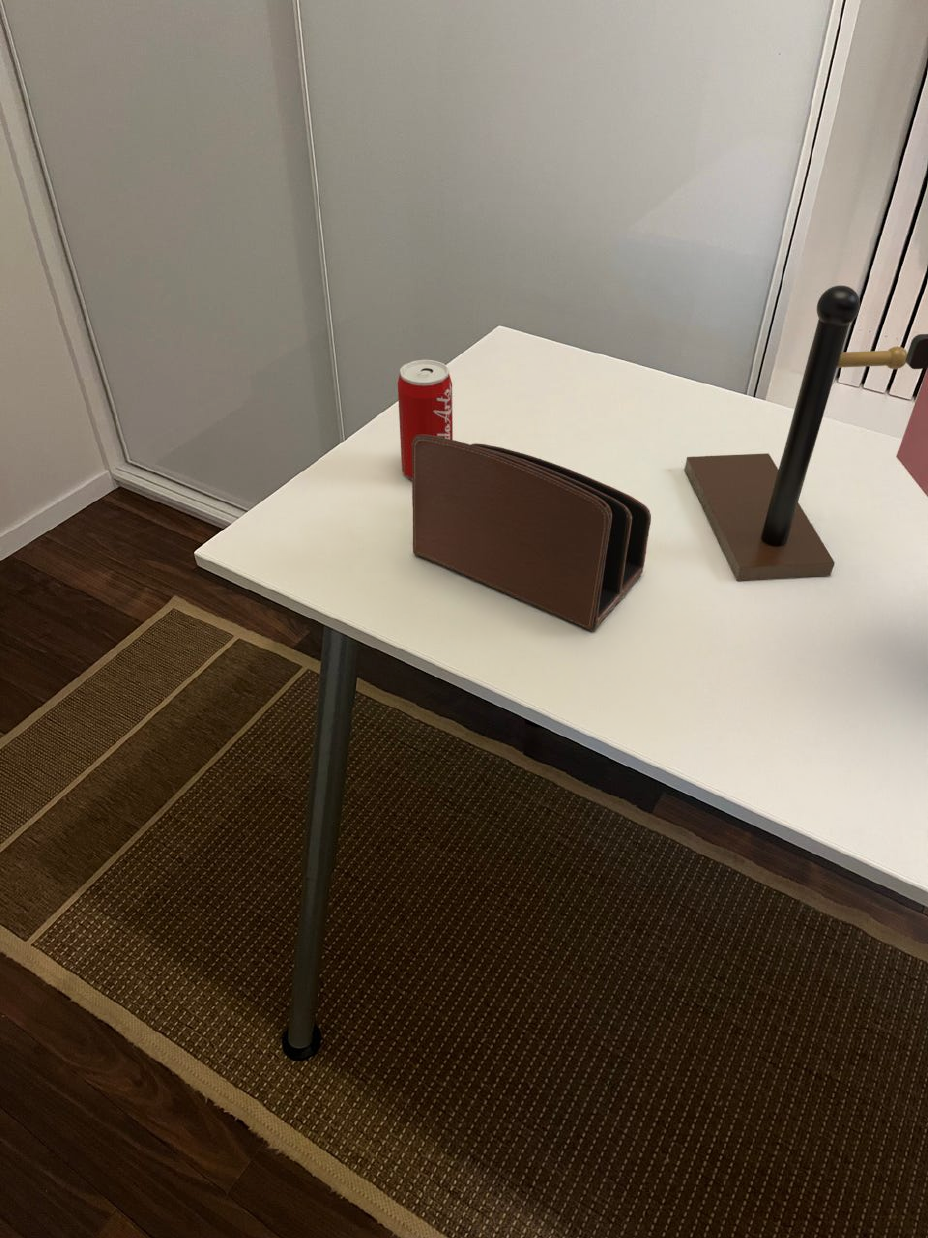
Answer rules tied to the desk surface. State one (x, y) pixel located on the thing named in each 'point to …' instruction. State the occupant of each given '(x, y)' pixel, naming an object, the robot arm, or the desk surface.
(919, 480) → the pink block with hole
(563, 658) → the desk surface
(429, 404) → the soda can
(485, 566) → the letter holder
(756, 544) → the stand
